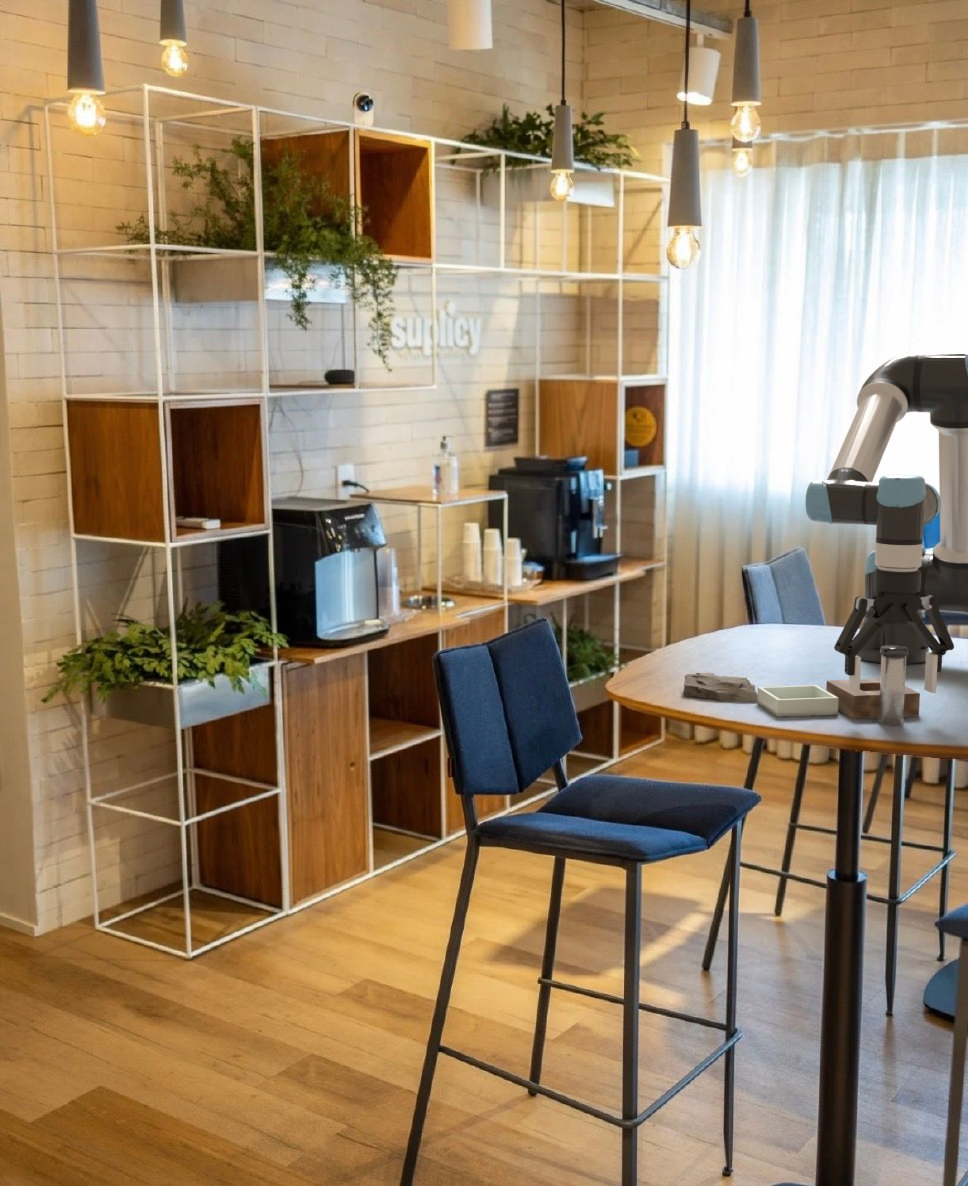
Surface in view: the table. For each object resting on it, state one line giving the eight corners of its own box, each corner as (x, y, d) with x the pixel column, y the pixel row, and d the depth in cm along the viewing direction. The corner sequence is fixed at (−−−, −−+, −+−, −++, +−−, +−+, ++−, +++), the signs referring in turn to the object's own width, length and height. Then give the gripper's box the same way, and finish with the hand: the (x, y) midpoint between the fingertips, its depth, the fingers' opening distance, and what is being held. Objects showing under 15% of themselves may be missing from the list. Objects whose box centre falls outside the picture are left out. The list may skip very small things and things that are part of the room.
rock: (681, 701, 250) (682, 680, 250) (684, 690, 259) (684, 669, 258) (757, 705, 248) (758, 683, 247) (757, 693, 256) (758, 673, 256)
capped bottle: (897, 719, 235) (900, 645, 233) (908, 725, 231) (912, 650, 229) (873, 720, 235) (876, 645, 233) (884, 726, 230) (887, 650, 228)
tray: (815, 701, 249) (816, 685, 248) (837, 714, 239) (838, 697, 238) (757, 703, 247) (757, 687, 247) (777, 717, 237) (777, 700, 237)
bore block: (888, 699, 250) (889, 678, 249) (918, 715, 238) (920, 693, 237) (825, 702, 248) (826, 680, 247) (853, 718, 236) (854, 695, 235)
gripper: (957, 563, 234) (950, 685, 238) (817, 566, 231) (813, 690, 234) (979, 569, 227) (972, 695, 230) (835, 572, 223) (830, 700, 227)
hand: (892, 692), depth 232 cm, fingers open, 13 cm apart
